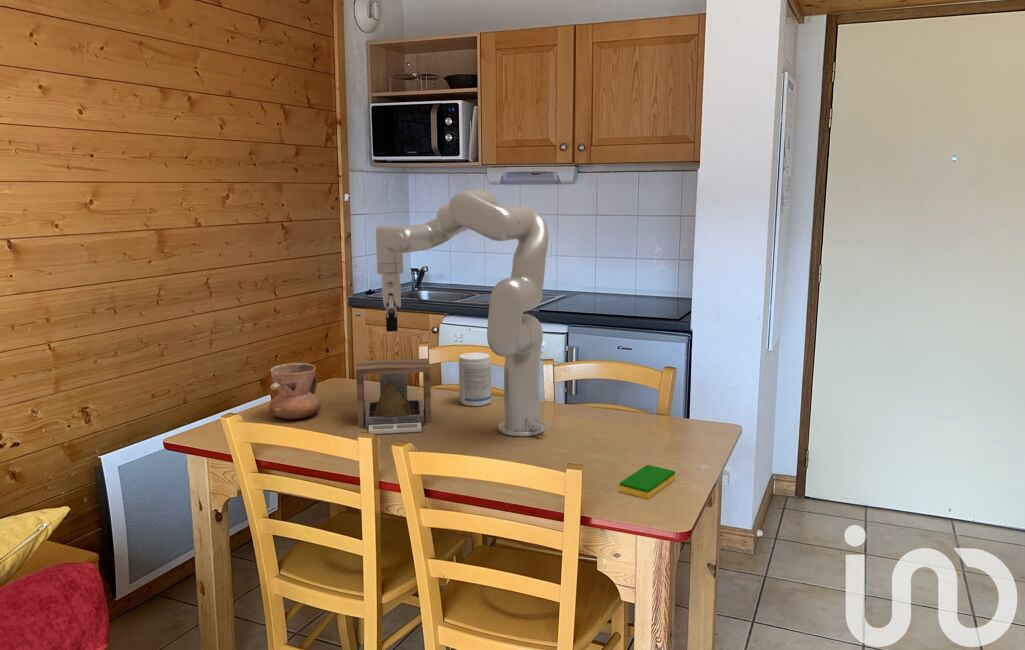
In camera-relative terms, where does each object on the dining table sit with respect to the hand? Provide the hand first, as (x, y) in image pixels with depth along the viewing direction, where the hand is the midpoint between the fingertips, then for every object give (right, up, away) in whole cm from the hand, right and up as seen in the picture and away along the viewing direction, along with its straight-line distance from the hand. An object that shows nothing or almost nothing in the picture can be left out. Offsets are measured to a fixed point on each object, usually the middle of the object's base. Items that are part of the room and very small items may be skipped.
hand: (391, 328), depth 229 cm
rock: (+2, -26, -8) cm, 27 cm away
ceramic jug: (-27, -25, -5) cm, 37 cm away
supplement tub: (+24, -23, +7) cm, 34 cm away
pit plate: (+4, -28, -19) cm, 34 cm away
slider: (+1, -25, -4) cm, 25 cm away
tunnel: (+2, -26, -8) cm, 27 cm away
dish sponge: (+66, -35, -56) cm, 93 cm away
